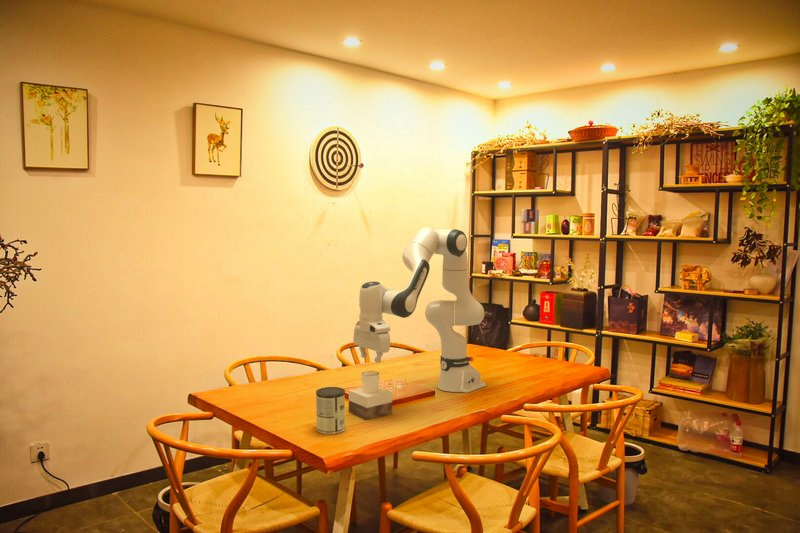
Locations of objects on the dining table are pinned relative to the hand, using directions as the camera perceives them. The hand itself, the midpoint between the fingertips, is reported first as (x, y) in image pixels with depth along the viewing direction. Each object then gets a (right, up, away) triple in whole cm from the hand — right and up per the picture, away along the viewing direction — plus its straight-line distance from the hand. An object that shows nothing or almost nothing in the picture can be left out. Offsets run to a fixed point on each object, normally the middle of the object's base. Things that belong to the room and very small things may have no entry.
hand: (370, 359), depth 238 cm
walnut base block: (0, -21, +1) cm, 21 cm away
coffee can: (-14, -22, -17) cm, 31 cm away
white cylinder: (0, -12, +1) cm, 12 cm away
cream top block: (0, -16, +1) cm, 16 cm away
